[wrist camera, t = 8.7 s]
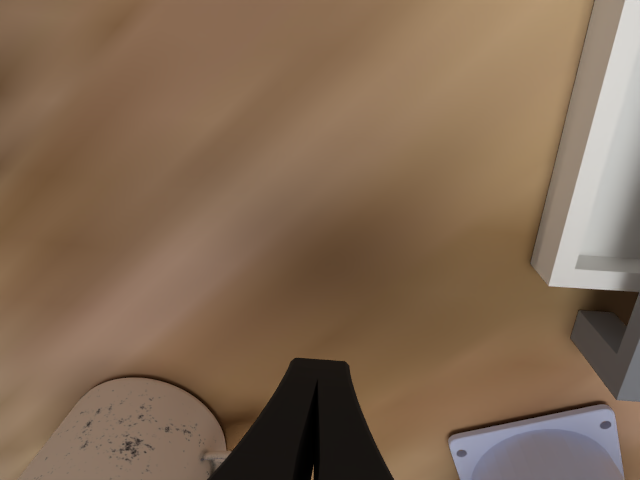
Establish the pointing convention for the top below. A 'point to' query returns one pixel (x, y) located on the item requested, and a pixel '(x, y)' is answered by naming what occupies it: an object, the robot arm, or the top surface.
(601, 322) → the shelf
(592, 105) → the tray
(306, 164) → the top surface
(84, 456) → the teacup with lid
